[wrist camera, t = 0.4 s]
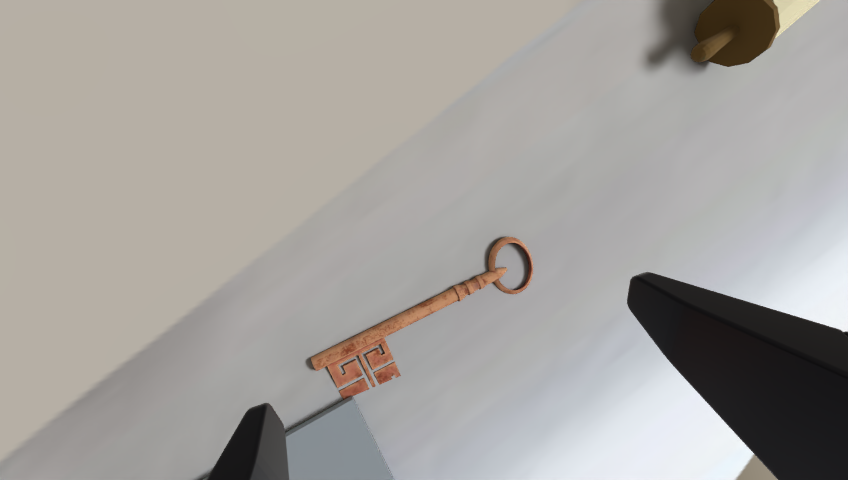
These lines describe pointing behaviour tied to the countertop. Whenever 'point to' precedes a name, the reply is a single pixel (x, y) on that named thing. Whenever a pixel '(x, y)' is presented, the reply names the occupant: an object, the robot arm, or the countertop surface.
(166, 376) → the countertop surface
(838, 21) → the countertop surface
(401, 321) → the key
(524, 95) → the countertop surface
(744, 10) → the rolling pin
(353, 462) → the mat
